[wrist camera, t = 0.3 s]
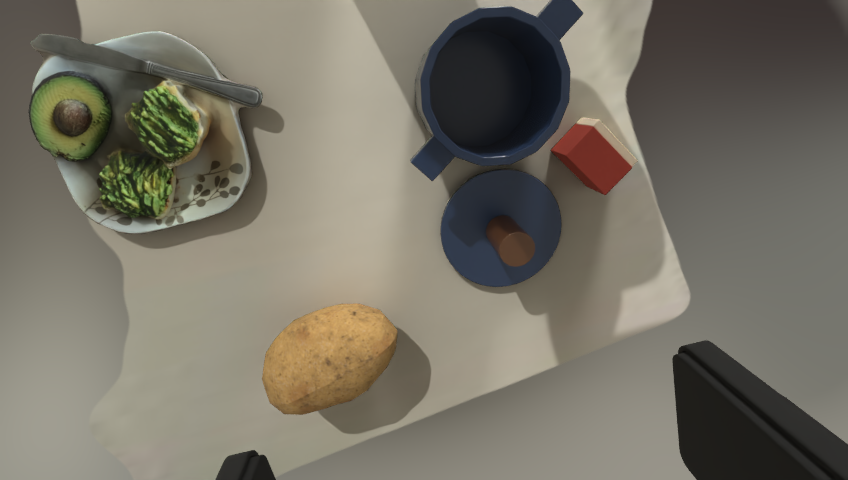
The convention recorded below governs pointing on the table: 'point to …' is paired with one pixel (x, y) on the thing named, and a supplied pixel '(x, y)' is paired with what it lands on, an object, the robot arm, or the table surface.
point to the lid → (500, 227)
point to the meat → (594, 155)
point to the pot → (494, 86)
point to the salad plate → (141, 129)
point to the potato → (328, 358)
